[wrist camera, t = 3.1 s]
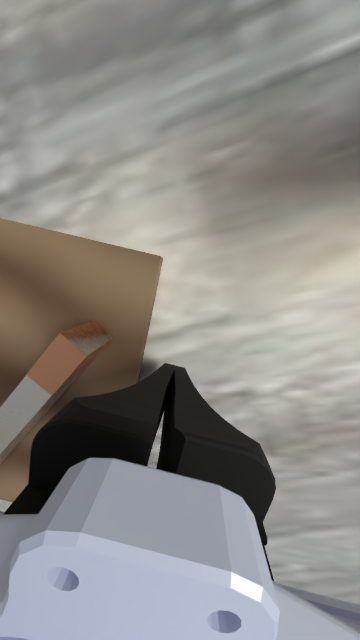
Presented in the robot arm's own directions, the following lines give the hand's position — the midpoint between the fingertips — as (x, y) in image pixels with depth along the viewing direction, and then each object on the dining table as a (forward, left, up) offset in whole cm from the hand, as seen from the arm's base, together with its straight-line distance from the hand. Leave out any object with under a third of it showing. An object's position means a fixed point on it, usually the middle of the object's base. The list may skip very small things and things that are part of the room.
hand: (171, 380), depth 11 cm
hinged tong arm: (-6, +9, -1) cm, 11 cm away
